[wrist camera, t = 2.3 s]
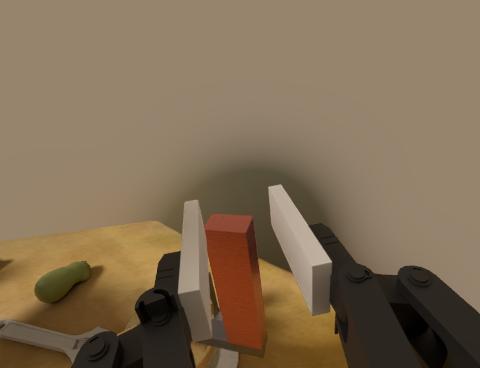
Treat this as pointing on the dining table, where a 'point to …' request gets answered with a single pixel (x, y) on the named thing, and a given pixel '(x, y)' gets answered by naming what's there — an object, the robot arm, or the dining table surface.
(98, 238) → the dining table surface
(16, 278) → the dining table surface
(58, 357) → the dining table surface
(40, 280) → the pear
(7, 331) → the adjustable wrench
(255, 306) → the toy block assembly
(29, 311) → the dining table surface
